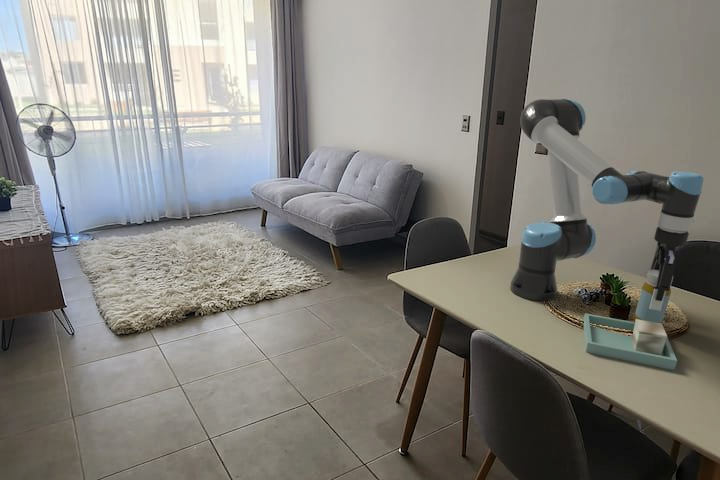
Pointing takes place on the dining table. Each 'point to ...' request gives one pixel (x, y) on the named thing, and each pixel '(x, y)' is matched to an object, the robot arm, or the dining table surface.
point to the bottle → (645, 299)
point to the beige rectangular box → (648, 337)
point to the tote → (622, 343)
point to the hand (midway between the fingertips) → (652, 303)
